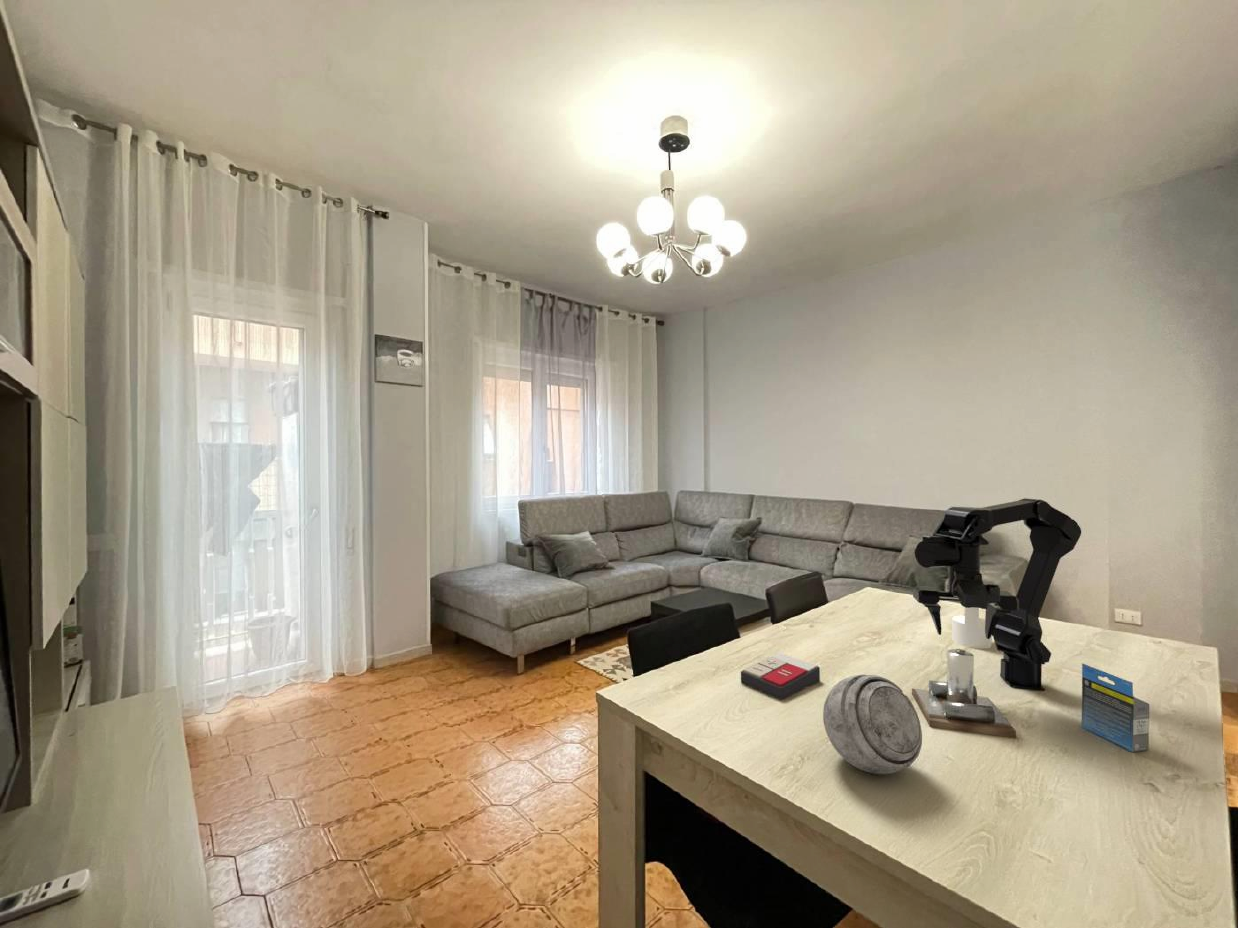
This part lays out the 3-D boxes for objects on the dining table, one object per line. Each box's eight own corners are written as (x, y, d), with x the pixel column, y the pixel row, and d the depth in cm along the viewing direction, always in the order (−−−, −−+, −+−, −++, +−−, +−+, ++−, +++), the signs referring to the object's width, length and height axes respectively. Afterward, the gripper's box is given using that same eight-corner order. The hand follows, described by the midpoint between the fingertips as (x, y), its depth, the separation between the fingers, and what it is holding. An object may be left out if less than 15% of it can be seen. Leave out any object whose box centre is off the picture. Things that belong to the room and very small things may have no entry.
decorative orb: (874, 804, 78) (875, 704, 78) (804, 753, 91) (804, 668, 91) (940, 779, 84) (942, 686, 84) (866, 734, 97) (866, 654, 97)
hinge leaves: (986, 698, 109) (987, 684, 109) (1012, 728, 97) (1012, 712, 97) (914, 690, 113) (914, 676, 113) (930, 718, 101) (930, 702, 101)
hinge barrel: (968, 704, 106) (969, 647, 106) (976, 714, 102) (977, 655, 102) (943, 701, 108) (944, 645, 107) (950, 711, 103) (951, 653, 103)
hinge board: (987, 702, 110) (987, 697, 110) (1015, 737, 96) (1015, 731, 96) (911, 693, 114) (912, 688, 114) (929, 726, 100) (929, 720, 100)
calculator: (739, 668, 120) (779, 649, 129) (740, 686, 120) (779, 666, 129) (781, 684, 111) (820, 663, 120) (781, 704, 111) (820, 681, 120)
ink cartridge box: (1150, 751, 92) (1152, 681, 92) (1132, 753, 91) (1133, 683, 91) (1096, 725, 101) (1097, 661, 100) (1079, 726, 100) (1080, 662, 100)
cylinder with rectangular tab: (953, 634, 151) (953, 592, 150) (991, 641, 145) (992, 597, 145) (950, 643, 143) (951, 600, 143) (991, 651, 138) (992, 605, 138)
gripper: (925, 570, 110) (925, 644, 110) (1031, 576, 104) (1030, 654, 105) (912, 560, 120) (912, 627, 121) (1008, 565, 115) (1007, 635, 115)
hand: (963, 636), depth 115 cm, fingers open, 9 cm apart
